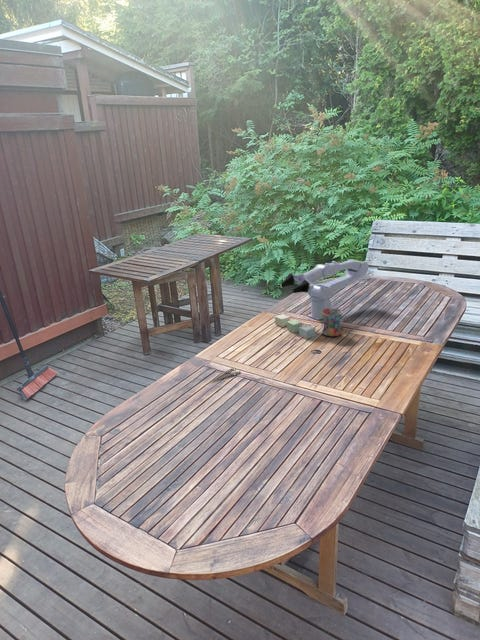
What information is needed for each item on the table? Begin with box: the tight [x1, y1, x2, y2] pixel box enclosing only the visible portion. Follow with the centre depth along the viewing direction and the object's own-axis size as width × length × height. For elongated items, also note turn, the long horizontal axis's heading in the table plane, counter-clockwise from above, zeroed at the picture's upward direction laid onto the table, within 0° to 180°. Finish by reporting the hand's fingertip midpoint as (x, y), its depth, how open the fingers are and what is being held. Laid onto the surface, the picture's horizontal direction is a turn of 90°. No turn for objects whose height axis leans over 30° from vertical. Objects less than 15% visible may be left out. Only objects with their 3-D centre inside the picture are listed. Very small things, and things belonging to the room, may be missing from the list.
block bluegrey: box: [298, 324, 316, 340], centre depth 202 cm, size 5×5×4 cm
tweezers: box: [208, 367, 242, 385], centre depth 169 cm, size 17×5×2 cm, turn 131°
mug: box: [321, 307, 344, 337], centre depth 202 cm, size 12×9×11 cm
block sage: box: [286, 318, 303, 333], centre depth 209 cm, size 5×5×4 cm
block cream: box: [274, 313, 291, 328], centre depth 216 cm, size 5×5×4 cm
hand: (287, 287), depth 207 cm, fingers open, 7 cm apart
